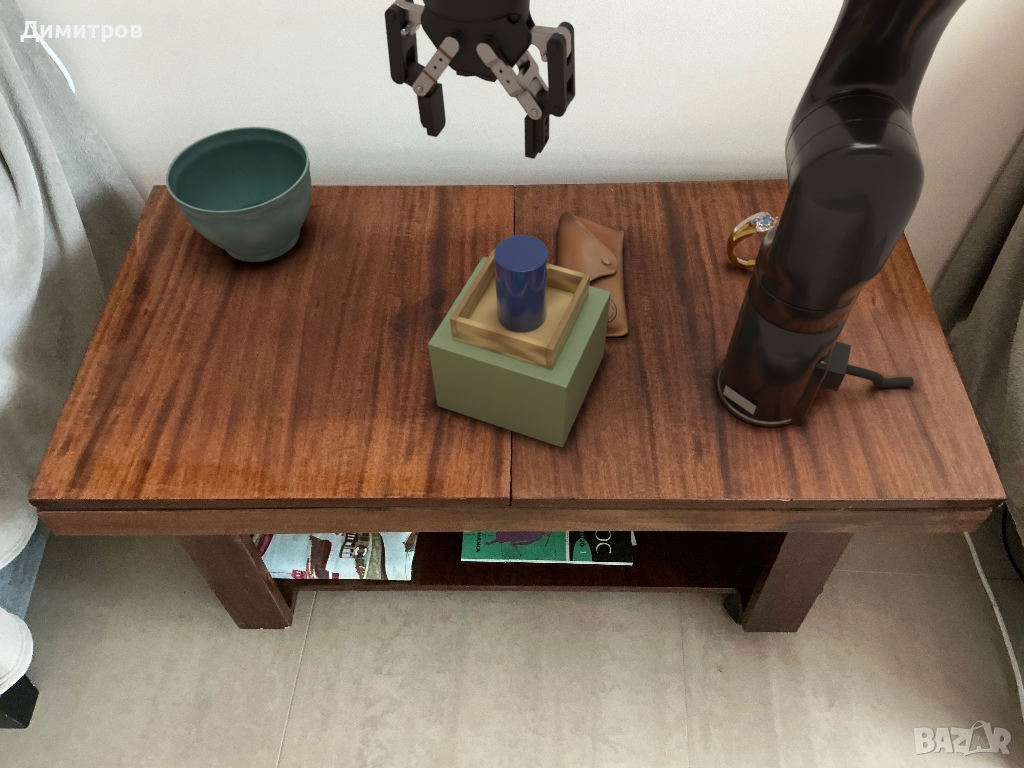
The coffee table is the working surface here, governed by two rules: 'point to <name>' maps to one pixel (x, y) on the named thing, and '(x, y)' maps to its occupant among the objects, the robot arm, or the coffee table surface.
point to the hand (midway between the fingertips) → (484, 141)
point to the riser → (521, 375)
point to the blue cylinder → (521, 282)
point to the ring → (761, 223)
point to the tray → (536, 347)
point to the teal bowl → (244, 190)
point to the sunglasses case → (596, 262)
